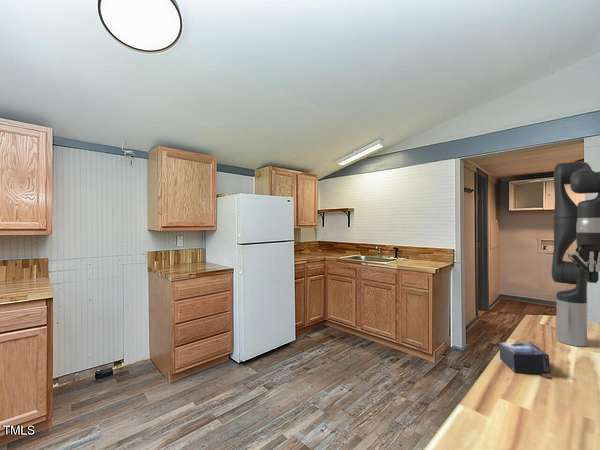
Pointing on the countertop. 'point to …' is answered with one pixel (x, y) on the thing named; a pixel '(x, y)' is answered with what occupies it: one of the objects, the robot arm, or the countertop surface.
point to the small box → (524, 357)
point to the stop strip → (546, 375)
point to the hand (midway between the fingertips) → (591, 282)
